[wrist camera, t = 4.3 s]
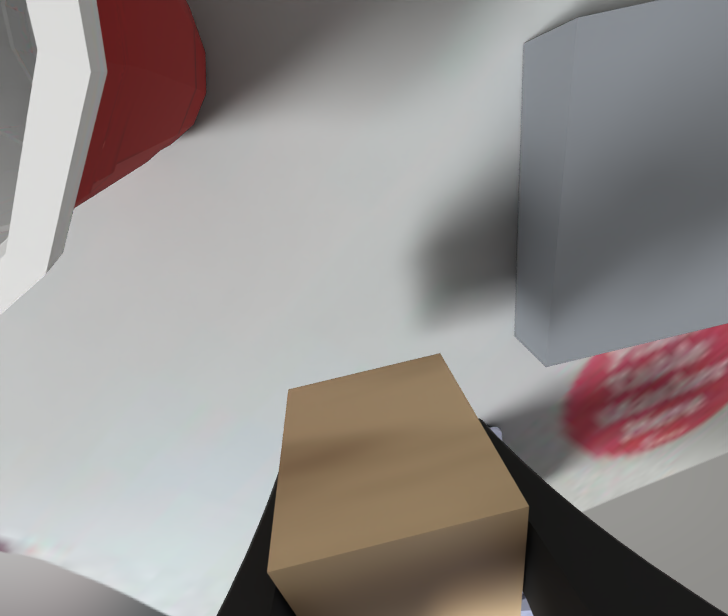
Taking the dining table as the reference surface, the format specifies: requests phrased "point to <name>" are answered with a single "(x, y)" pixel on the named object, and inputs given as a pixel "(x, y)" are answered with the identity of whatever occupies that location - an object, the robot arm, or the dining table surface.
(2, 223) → the plastic cup
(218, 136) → the dining table surface
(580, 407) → the dining table surface
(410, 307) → the dining table surface
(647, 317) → the slate base
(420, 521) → the oak cube
